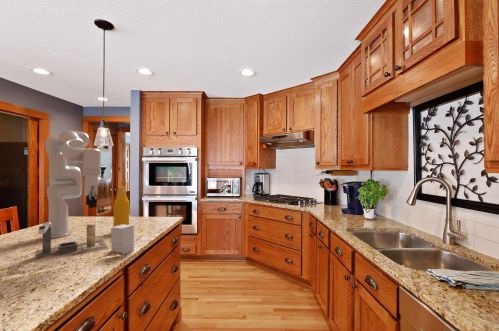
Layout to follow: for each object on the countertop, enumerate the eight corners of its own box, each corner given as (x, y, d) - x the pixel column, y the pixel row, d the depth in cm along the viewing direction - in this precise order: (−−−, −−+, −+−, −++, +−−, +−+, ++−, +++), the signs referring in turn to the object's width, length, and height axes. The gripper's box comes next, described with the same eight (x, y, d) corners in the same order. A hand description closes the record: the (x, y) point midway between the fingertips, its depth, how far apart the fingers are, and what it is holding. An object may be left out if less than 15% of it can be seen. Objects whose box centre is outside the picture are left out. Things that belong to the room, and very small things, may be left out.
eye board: (35, 252, 120) (35, 225, 120) (101, 241, 138) (102, 217, 138) (34, 265, 104) (34, 233, 104) (109, 251, 122) (109, 223, 122)
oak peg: (86, 245, 125) (86, 224, 125) (94, 244, 128) (94, 223, 128) (87, 247, 123) (87, 225, 123) (95, 246, 125) (95, 224, 125)
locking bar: (43, 226, 115) (43, 220, 115) (51, 225, 117) (51, 219, 117) (36, 234, 102) (36, 227, 102) (46, 233, 104) (46, 226, 104)
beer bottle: (129, 229, 167) (129, 186, 167) (129, 232, 158) (129, 187, 159) (113, 230, 163) (114, 186, 163) (112, 233, 154) (113, 187, 155)
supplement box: (134, 250, 124) (134, 225, 124) (122, 255, 117) (122, 228, 117) (123, 248, 126) (123, 223, 127) (110, 253, 119) (110, 227, 120)
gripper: (80, 172, 130) (80, 204, 130) (85, 173, 116) (84, 209, 116) (97, 172, 134) (96, 203, 135) (103, 173, 121) (102, 207, 121)
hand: (91, 206), depth 126 cm, fingers open, 9 cm apart
